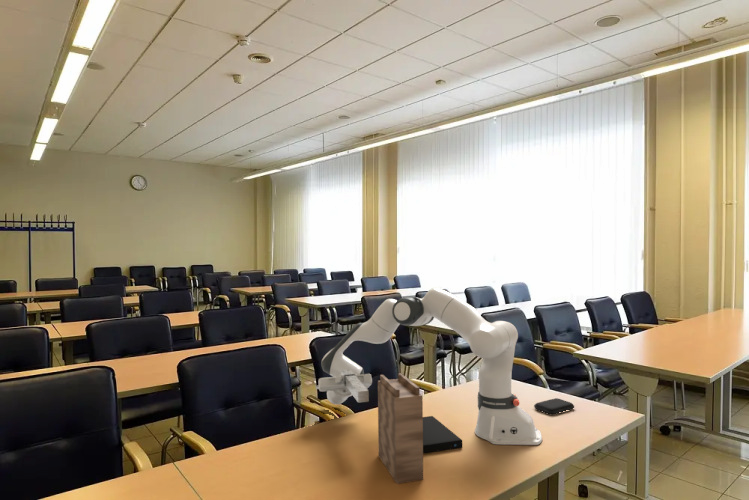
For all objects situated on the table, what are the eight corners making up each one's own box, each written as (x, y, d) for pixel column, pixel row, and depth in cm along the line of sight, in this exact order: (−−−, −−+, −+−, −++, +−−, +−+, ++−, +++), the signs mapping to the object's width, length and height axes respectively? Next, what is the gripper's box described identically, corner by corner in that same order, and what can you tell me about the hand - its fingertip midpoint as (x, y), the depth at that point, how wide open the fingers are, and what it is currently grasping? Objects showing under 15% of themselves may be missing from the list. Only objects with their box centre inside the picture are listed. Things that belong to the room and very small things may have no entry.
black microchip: (554, 402, 198) (529, 409, 191) (554, 395, 198) (529, 401, 191) (576, 410, 189) (551, 417, 182) (576, 403, 189) (551, 409, 182)
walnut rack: (378, 456, 149) (377, 374, 149) (402, 452, 151) (401, 372, 151) (396, 483, 132) (395, 391, 132) (423, 479, 134) (422, 388, 134)
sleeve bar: (341, 380, 175) (341, 370, 175) (351, 379, 176) (350, 369, 176) (357, 403, 150) (357, 391, 150) (369, 401, 151) (369, 390, 151)
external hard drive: (432, 423, 177) (432, 415, 177) (462, 448, 155) (462, 439, 155) (397, 428, 173) (397, 420, 173) (422, 455, 150) (422, 445, 150)
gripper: (314, 380, 182) (319, 370, 170) (365, 376, 188) (373, 366, 176) (316, 397, 179) (321, 388, 167) (368, 392, 185) (376, 383, 173)
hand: (348, 376), depth 172 cm, fingers closed on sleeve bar, 3 cm apart
